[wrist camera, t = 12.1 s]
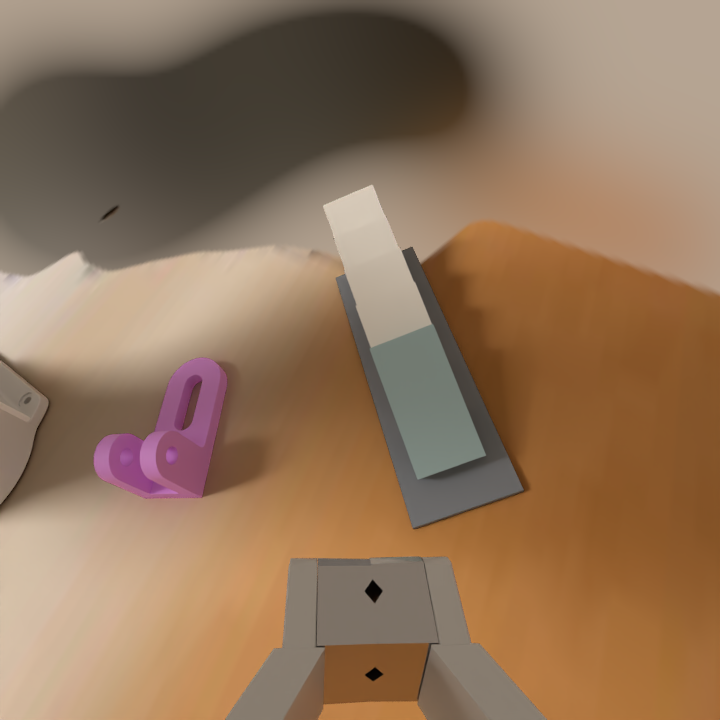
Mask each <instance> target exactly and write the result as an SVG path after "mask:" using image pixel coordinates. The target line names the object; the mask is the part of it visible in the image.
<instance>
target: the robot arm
mask: <svg viewBox="0 0 720 720" xmlns="http://www.w3.org/2000/svg"><path fill="white" fill-rule="evenodd" d="M48 404H49V401H48V399H47V398H46V397H45V396H44V395H43V394H41V393H40V392H39V391H38V390H36V389H35V388H34V387H33V386H32V385H30V384H29V383H28V382H27V381H26V380H24V379H23V378H22V377H21V376H19V375H18V374H17V373H16V372H15V371H13V370H12V369H11V368H10V367H9V366H7V365H6V364H5V363H4V362H2V361H1V360H0V504H1V503H2V502H3V501H4V499H5V498H6V497H7V496H8V494H9V493H10V492H11V490H12V489H13V487H14V486H15V484H16V483H17V481H18V480H19V478H20V476H21V474H22V472H23V470H24V468H25V466H26V464H27V462H28V459H29V456H30V453H31V450H32V446H33V441H34V436H35V433H36V430H37V427H38V425H39V424H40V422H41V420H42V418H43V416H44V414H45V412H46V410H47V408H48ZM370 701H371V702H381V701H418V706H419V707H420V709H421V711H422V712H423V714H424V715H425V717H426V719H427V720H547V719H546V718H545V717H544V716H543V714H542V713H541V712H540V711H539V710H538V709H537V708H536V707H535V705H534V704H533V703H532V702H531V701H530V700H529V699H528V698H527V696H526V695H525V694H524V693H523V692H522V691H521V690H520V688H519V687H518V686H517V685H516V684H515V683H514V682H513V681H512V679H511V678H510V677H509V676H508V675H507V674H506V673H505V672H504V670H503V669H502V668H501V667H500V666H499V665H498V664H497V663H496V661H495V660H494V659H493V658H492V657H491V656H490V655H489V654H488V652H487V651H486V650H485V649H484V648H483V647H482V646H481V645H480V644H478V643H471V640H470V636H469V632H468V628H467V624H466V620H465V616H464V612H463V608H462V604H461V600H460V596H459V592H458V588H457V584H456V580H455V576H454V572H453V568H452V564H451V561H450V560H449V558H448V557H422V558H421V557H384V558H369V559H330V558H318V581H317V558H291V559H290V564H289V570H288V583H287V596H286V609H285V621H284V634H283V647H282V648H274V649H273V651H272V652H271V653H270V655H269V656H268V658H267V659H266V661H265V662H264V664H263V665H262V666H261V668H260V669H259V671H258V672H257V674H256V675H255V677H254V678H253V680H252V681H251V682H250V684H249V685H248V687H247V688H246V690H245V691H244V693H243V694H242V695H241V697H240V698H239V700H238V701H237V703H236V704H235V706H234V707H233V708H232V710H231V711H230V713H229V714H228V716H227V717H226V719H225V720H318V718H319V716H320V714H321V712H322V710H323V704H339V703H355V702H370Z"/></svg>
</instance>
